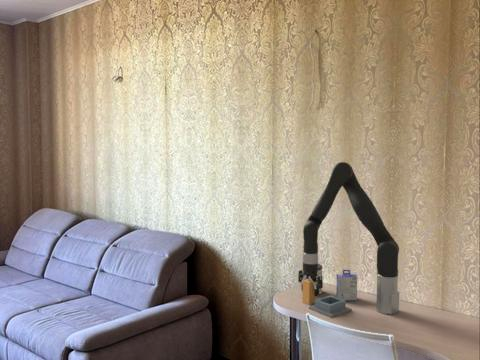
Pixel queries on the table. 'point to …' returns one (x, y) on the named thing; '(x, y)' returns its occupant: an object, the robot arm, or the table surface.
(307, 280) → the connector plug
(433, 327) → the table surface
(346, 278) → the ink cartridge box
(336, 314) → the holder
